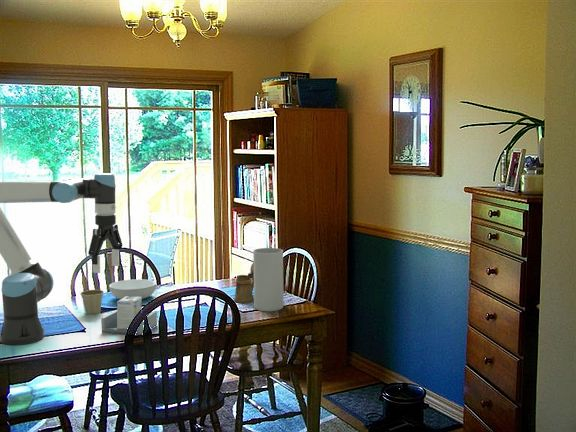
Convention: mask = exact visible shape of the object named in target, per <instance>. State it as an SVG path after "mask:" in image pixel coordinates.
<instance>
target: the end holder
mask: <svg viewBox="0 0 576 432" xmlns="http://www.w3.org/2000/svg"><path fill="white" fill-rule="evenodd" d="M148 314H149V315H148ZM148 314H147V315H148V322H149V325H150V327H151V328H153V327H154V326H156V325H157V326H158V317H157V314H158V313H157V311H151V312H150V313H148ZM100 321H101V322H100V323H101V334H112V335H122V336H123V335H124V336H126V335H125V333H126V331H127V329H117V309H115V310H114V311H112V312H110V313H107V314H106V315H104V316H102V317H101V318H100ZM143 325H144V322H143V321H142V323H141V325H140V326H139V328H138V330H137V333H136V335H142V333H143ZM157 326H156V327H157ZM153 329H154V328H153ZM142 336H143V335H142Z"/></svg>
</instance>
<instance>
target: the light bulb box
mask: <svg viewBox="0 0 576 432" xmlns="http://www.w3.org/2000/svg"><path fill="white" fill-rule="evenodd" d="M142 300H143V299H142V297H131V296H125V297H124V298H122V299H118V300H117V302H116V304H117V307H116V310H117V329H127V328H128V327H129V325H130V323H131V322H132V320H133V319H134V317H135V316H136V314H137V313H138V312H139V311H140V310H141V311H142V306H143V305H142V304H143V303H142Z"/></svg>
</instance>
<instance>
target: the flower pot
mask: <svg viewBox="0 0 576 432" xmlns="http://www.w3.org/2000/svg"><path fill="white" fill-rule="evenodd" d="M104 292H105V291H104V290H101V289H88V290H83V291H80V293H79V294H80V296H81V299H82V302H83V307H84V312H85V314H87V315H92V314H93V315H97V314H100V313H101V312H102V299H103V296H104Z"/></svg>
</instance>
